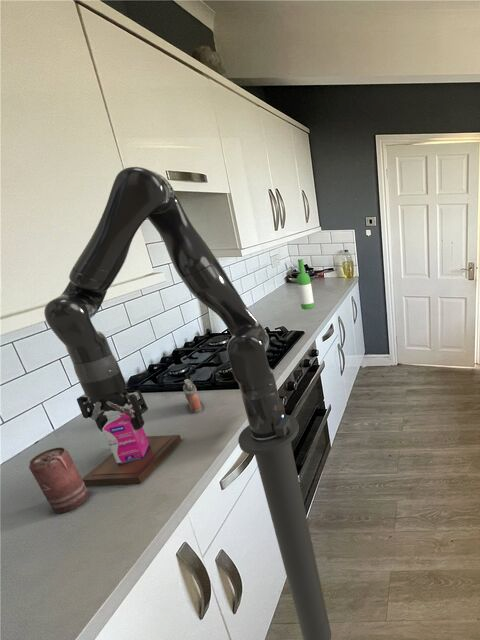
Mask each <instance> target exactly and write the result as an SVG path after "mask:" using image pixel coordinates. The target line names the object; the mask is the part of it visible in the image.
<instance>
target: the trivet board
mask: <svg viewBox="0 0 480 640" xmlns="http://www.w3.org/2000/svg"><path fill="white" fill-rule="evenodd" d="M146 437H147V439H148V442H149V444H150V446H149V448H148V450H147V452H146V454H145V456H144V458H142V459H137V460H133V461H129V462H125V463H122V464H117V462H116V460H115V458H114V455H113V453H112V452H111V453H110V454H109V455H108V456H106V457H105V459H103V460H102V461H101V462H99V464H98V465H96V466H95V467H94V468H93V469H92V470H91V471H90V472H88V473H87V474H86V475H85V476H84V477H82V480H83V482H84V484H85V486H86V487H96V486H97V487H98V486H117V485H119V486H120V485H137V484H139V485H140V484H142V483H143V482H144V481H145V480H146V479H147V478H148V477H149V476H150V475H151V473H153V471H154V470H156V468H157V467H158V466H159V465H160V464H161V463H162V462H163V461H164V460H165V459H166V457H167V456H169V455H170V454H171V452H172V451H174V449H175V448H176V447H177V446H178V445H179V444H180V443H181V441H182V438H181V434H171V435H169V434H167V435H148V436H147V435H146Z"/></svg>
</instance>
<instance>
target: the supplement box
mask: <svg viewBox="0 0 480 640" xmlns="http://www.w3.org/2000/svg"><path fill="white" fill-rule="evenodd" d="M102 431H103V435H104V437H105V439H106V442H107V444H108V446H109V448H110V451H111V454H112V453H113V455H114V458H115V460H116V462H117V464H122V463H125V462H129V461H133V460H137V459H142V458H144V456H145V454H146V452H147V450H148V448H149V446H150V444H149V442H148V439H147V437H146V436H147V435H146V432H145V429H144V426H143V427H142V428H140V429H139V430H135V429H134V426H133V424H132V422H131V418H130V417H129V416H128V415H126V414H122V413H121V414H118V415H113V416H109V418H108V421H107V423H106V424H105V426H104V427H103V429H102Z"/></svg>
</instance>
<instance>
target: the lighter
mask: <svg viewBox="0 0 480 640" xmlns="http://www.w3.org/2000/svg"><path fill="white" fill-rule="evenodd" d="M183 381H184V384H183V385H182V390H183V393H184V396H185V399H186V400H187V402H188V408H189V410H190V412H192V413H193V414H197V413H200V412H202V411H203V405H202V402H201V401H200V398H199V395H198V391H197V389H198V388H197V386H196V385H195V384H194V383H193V382H192V381H191V379H189V378H186V379H184V380H183Z"/></svg>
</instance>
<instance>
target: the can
mask: <svg viewBox="0 0 480 640" xmlns="http://www.w3.org/2000/svg"><path fill="white" fill-rule="evenodd" d="M28 463H29V465H28V469H29V471H30V472H31V474H32V476H33V478H34V479H35V481H36V483H37V485H38V486H39V488H40V490H41V491H42V494H43V495H44V497H45V499H46V501H47V502H48V504H49V505H50V508H51V509H52V512H54V513H57V514H64V513H68V512H70V511H74V510H75V509H77V508H79V507H80V506H82V505H84V503H85V502H87V500H88V498H89V495H90V492H89V490H88V487H87V486H85V484H84V482H83V480H82V479H83V477H82V476H81V474H80V472H79V470H78V468H77V466H76V464H75V462H74V460H73V457H72V456H71V454H70V452H69V451H68V450H67V449H65V448H64V447H54V448H50V449H48V450H45V451H42V452H40V453H39V454H37V455H35V456H34V457H32V458H31V459H30V461H29V462H28Z"/></svg>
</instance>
